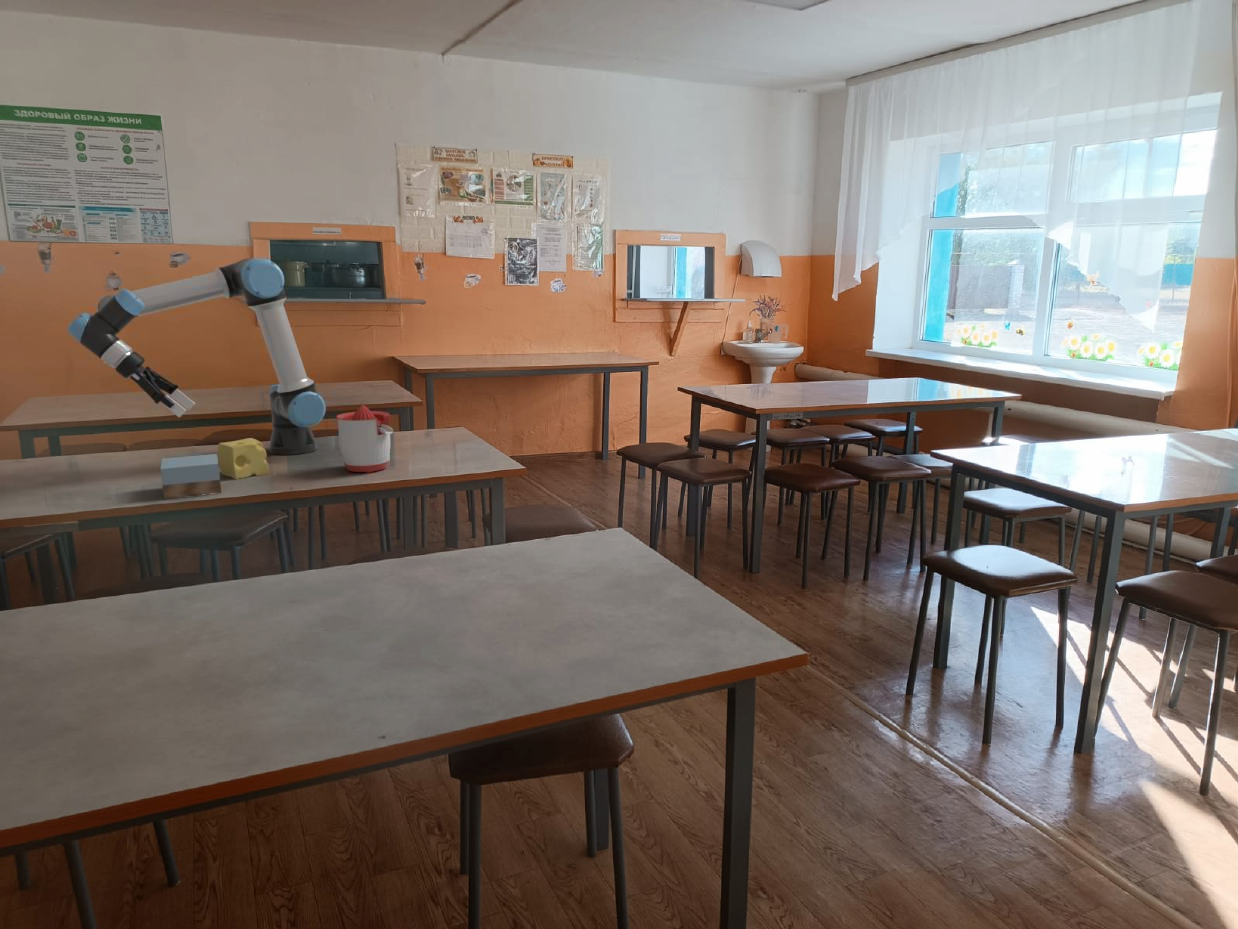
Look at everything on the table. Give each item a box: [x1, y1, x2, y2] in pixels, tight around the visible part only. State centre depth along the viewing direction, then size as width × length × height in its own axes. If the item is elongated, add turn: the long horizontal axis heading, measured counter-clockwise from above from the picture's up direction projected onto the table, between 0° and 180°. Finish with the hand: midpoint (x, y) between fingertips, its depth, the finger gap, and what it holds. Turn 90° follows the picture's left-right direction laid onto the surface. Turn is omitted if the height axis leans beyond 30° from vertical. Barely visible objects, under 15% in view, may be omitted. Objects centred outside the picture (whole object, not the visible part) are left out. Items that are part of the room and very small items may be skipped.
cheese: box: [217, 437, 270, 480], centre depth 255 cm, size 10×11×10 cm
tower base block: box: [162, 479, 222, 501], centre depth 236 cm, size 14×14×4 cm
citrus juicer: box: [336, 404, 394, 474], centre depth 260 cm, size 16×17×20 cm
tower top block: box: [160, 453, 221, 485], centre depth 235 cm, size 14×14×4 cm
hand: (187, 410), depth 247 cm, fingers open, 13 cm apart
